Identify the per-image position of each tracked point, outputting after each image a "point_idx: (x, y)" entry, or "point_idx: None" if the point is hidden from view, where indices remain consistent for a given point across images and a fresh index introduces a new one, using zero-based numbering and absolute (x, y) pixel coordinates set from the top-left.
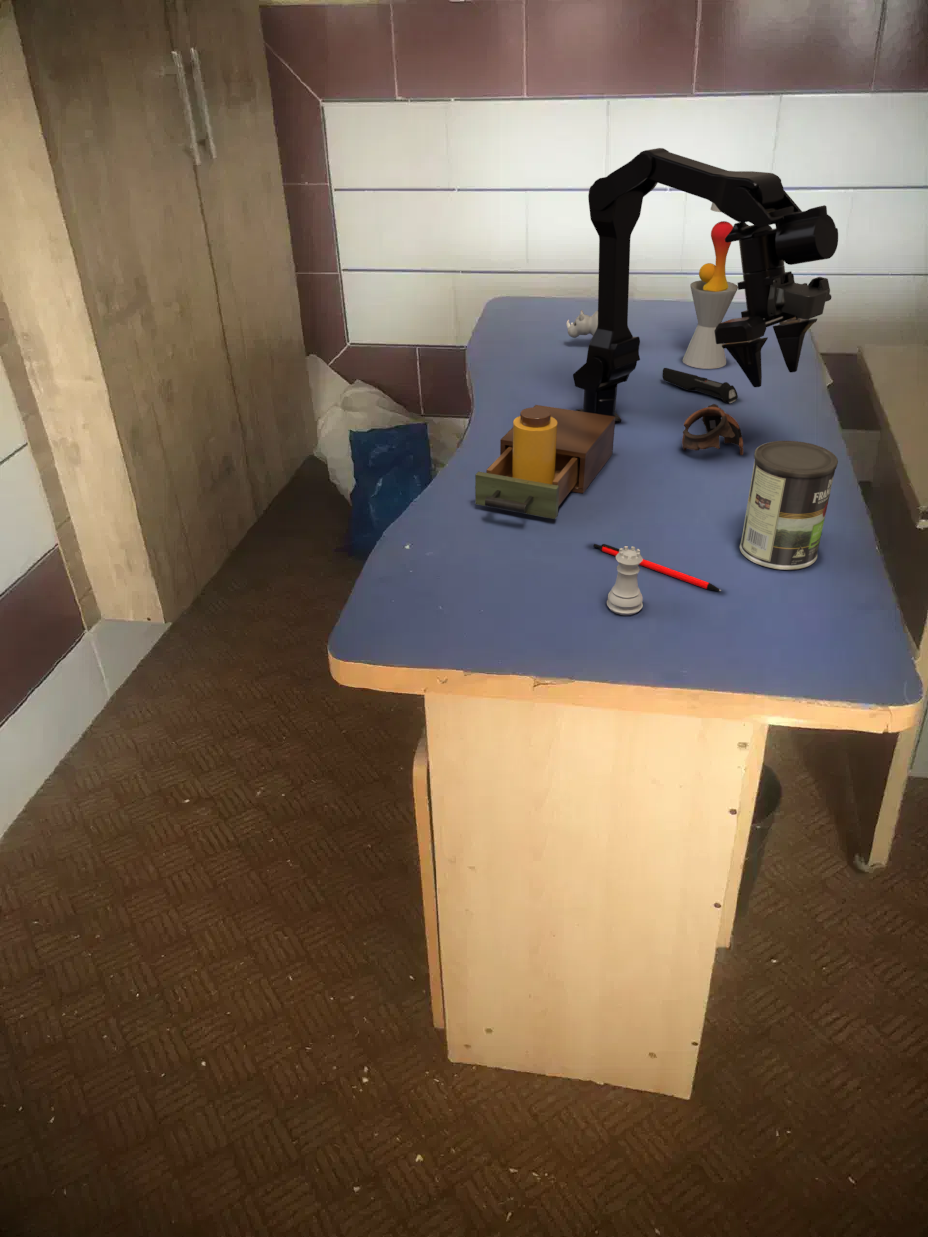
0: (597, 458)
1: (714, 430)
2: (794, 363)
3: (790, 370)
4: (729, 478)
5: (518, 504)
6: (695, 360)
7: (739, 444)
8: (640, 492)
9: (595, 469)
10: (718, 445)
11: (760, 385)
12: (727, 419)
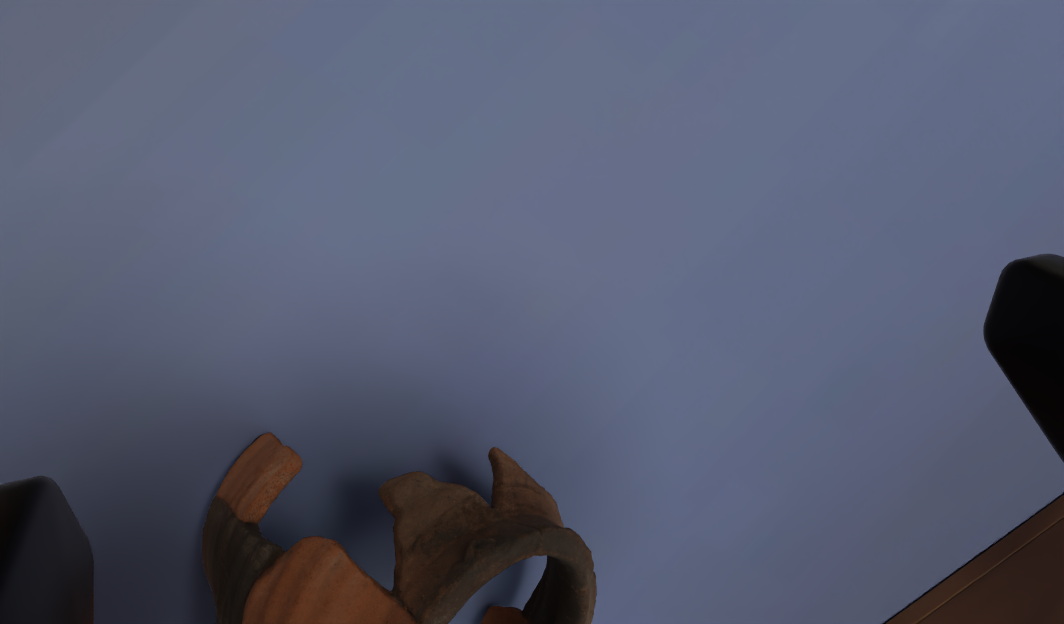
0: (1049, 600)
1: (535, 542)
2: (17, 599)
3: (82, 556)
4: (551, 243)
5: None
6: None
7: (298, 469)
8: (974, 345)
9: (1030, 562)
10: (503, 463)
11: (1038, 258)
12: (387, 612)
